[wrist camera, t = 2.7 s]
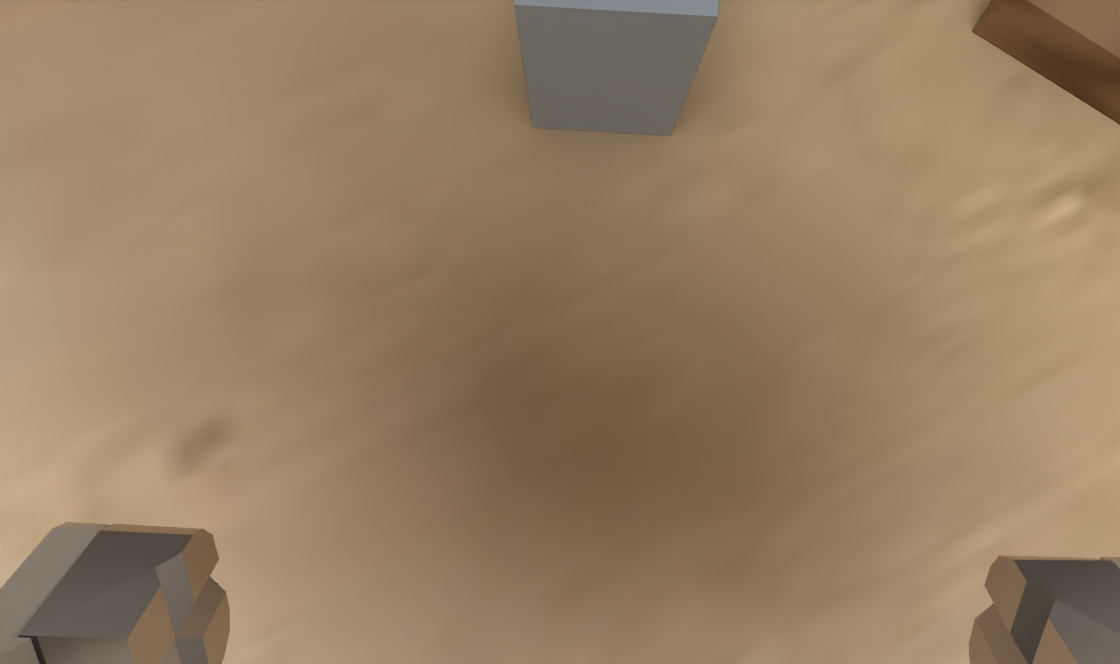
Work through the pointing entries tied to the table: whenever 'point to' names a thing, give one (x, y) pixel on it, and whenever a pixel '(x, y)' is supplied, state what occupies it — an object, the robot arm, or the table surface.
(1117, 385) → the table surface
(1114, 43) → the walnut block
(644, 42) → the gray block
